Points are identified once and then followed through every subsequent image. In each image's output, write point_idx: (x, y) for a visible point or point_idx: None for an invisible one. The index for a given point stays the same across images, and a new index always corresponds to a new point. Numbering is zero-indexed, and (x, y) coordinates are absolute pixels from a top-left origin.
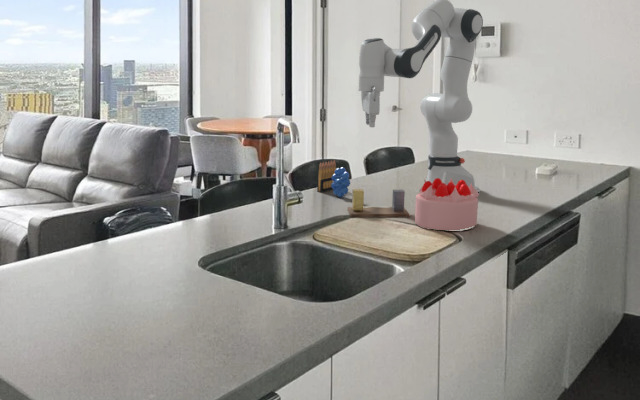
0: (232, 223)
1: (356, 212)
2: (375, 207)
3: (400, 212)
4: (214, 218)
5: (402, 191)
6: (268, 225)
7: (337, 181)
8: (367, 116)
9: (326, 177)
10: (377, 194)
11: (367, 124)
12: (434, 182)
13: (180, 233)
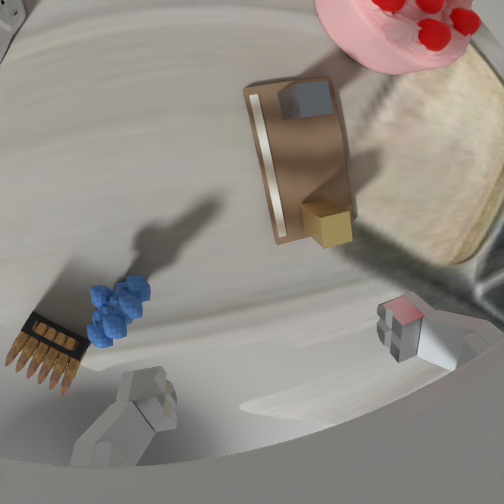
0: (389, 385)
1: None
2: (273, 168)
3: None
4: (361, 413)
5: (326, 87)
6: None
7: (131, 319)
8: (131, 449)
9: (56, 352)
10: (52, 195)
11: (173, 387)
12: (404, 2)
13: None
